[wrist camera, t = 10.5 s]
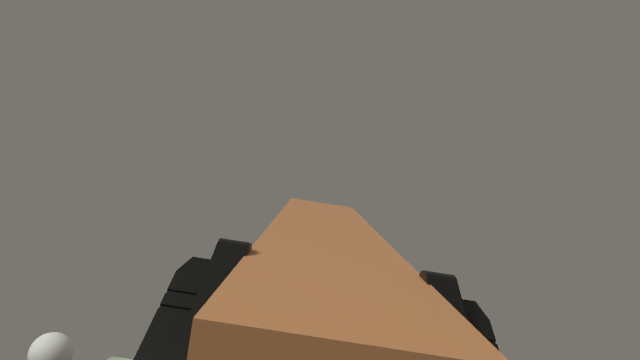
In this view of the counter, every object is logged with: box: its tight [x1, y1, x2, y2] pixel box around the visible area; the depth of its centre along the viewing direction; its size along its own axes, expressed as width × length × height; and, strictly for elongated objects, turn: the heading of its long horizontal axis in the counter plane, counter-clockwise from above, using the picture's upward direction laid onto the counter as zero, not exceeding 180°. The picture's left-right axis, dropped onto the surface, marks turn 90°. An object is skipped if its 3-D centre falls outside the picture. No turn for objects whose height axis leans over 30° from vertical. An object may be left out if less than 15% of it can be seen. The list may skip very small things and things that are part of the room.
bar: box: [187, 198, 508, 360], centre depth 19 cm, size 26×4×4 cm, turn 1°
